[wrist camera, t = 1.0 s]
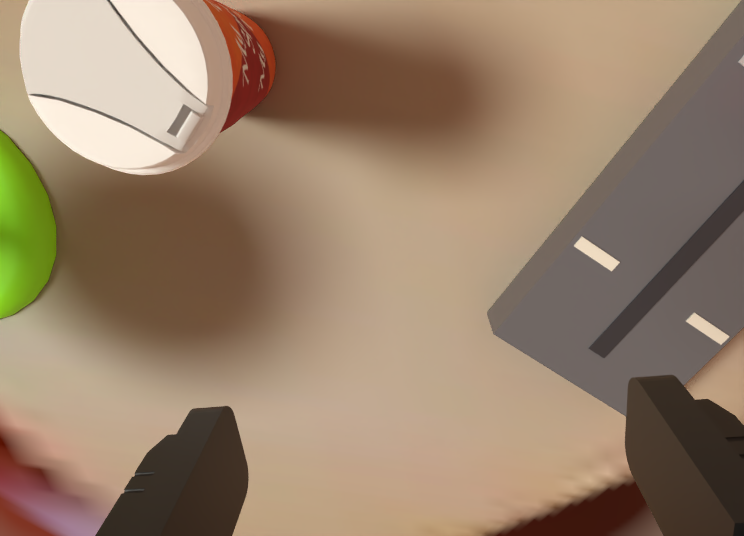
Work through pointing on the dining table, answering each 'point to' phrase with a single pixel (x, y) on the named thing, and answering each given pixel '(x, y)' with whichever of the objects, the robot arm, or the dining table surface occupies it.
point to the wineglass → (23, 231)
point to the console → (647, 244)
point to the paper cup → (142, 76)
